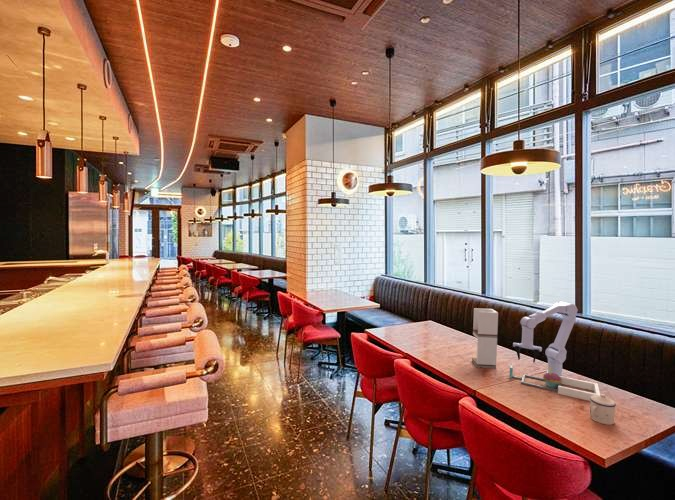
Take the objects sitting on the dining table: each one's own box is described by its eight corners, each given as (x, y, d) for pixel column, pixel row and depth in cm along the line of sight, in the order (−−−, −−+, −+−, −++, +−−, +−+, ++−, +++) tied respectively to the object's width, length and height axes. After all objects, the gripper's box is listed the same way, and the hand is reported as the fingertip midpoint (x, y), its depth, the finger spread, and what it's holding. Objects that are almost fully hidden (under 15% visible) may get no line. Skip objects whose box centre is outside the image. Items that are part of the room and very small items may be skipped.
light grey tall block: (490, 362, 221) (492, 308, 220) (496, 368, 211) (498, 312, 209) (472, 361, 222) (473, 308, 221) (477, 367, 212) (479, 311, 210)
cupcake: (549, 389, 182) (550, 368, 181) (539, 383, 190) (540, 362, 190) (565, 389, 182) (566, 367, 182) (554, 382, 191) (555, 362, 190)
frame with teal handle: (511, 373, 203) (511, 363, 202) (561, 383, 189) (561, 373, 189) (508, 380, 192) (508, 370, 192) (560, 392, 178) (561, 381, 178)
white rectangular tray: (558, 382, 191) (558, 375, 191) (597, 390, 182) (597, 383, 181) (557, 394, 177) (558, 386, 177) (600, 403, 168) (600, 395, 167)
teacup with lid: (597, 412, 159) (598, 388, 158) (619, 423, 150) (620, 397, 150) (580, 417, 154) (581, 392, 153) (602, 428, 146) (604, 402, 145)
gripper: (512, 337, 199) (511, 360, 199) (541, 341, 191) (540, 365, 191) (514, 334, 204) (513, 356, 205) (542, 338, 196) (541, 361, 197)
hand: (526, 360), depth 199 cm, fingers open, 7 cm apart
